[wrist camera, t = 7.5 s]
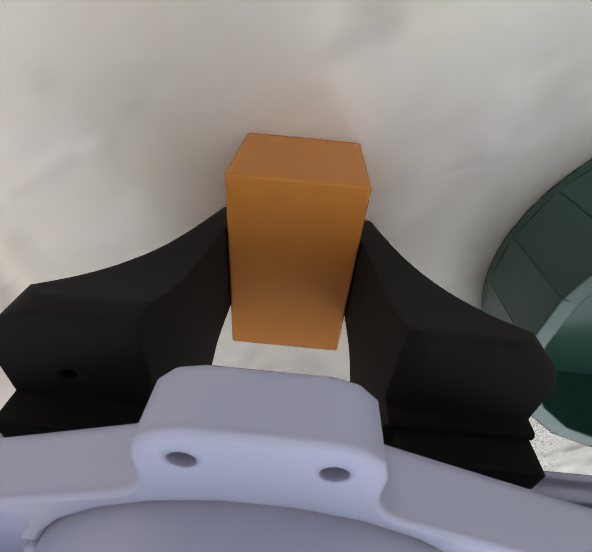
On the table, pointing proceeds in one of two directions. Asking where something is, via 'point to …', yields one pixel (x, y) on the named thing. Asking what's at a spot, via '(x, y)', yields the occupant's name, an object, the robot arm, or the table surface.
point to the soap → (293, 237)
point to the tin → (553, 296)
